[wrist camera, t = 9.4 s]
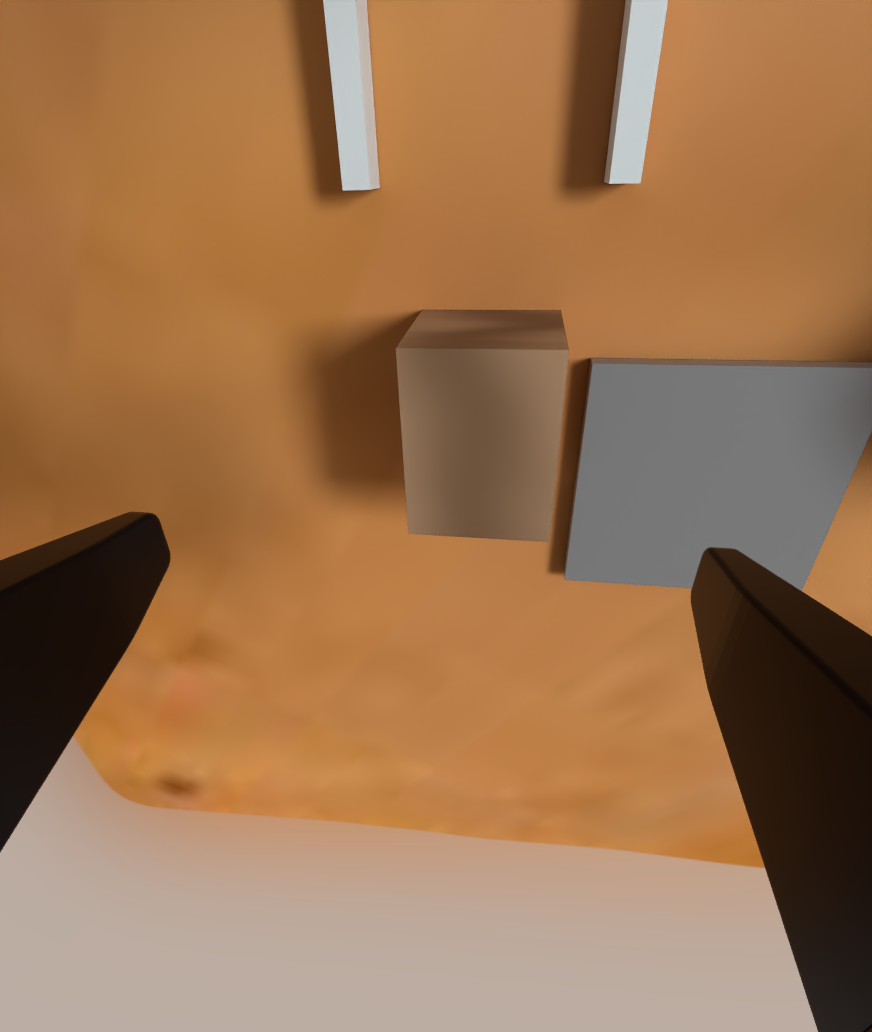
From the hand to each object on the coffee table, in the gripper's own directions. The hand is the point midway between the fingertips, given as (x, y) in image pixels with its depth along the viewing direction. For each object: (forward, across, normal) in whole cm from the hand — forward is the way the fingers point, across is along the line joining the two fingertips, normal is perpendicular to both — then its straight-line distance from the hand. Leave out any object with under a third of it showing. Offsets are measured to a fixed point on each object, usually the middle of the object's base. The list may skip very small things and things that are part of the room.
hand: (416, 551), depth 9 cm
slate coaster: (+12, -9, +4) cm, 15 cm away
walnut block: (+12, -1, +2) cm, 12 cm away
